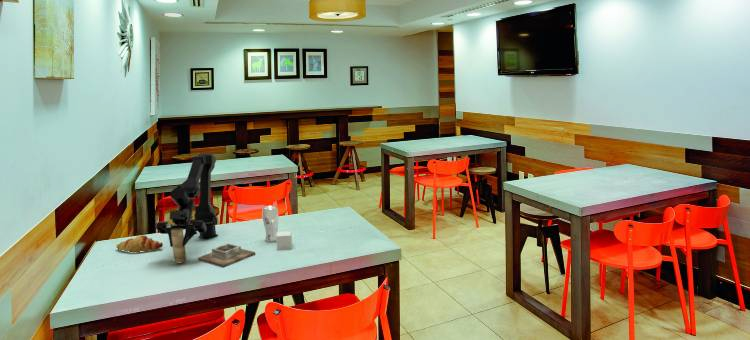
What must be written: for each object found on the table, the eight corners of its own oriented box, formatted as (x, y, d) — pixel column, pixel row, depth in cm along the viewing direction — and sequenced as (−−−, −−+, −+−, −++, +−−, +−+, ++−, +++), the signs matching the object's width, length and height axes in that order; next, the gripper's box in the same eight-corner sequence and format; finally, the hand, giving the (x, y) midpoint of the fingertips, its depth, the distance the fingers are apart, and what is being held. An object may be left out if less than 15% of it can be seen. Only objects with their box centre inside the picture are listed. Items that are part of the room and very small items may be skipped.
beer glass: (281, 237, 216) (279, 205, 213) (277, 242, 209) (275, 209, 206) (267, 237, 217) (264, 205, 214) (262, 242, 210) (259, 209, 207)
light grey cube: (292, 244, 206) (291, 231, 205) (291, 248, 200) (290, 235, 199) (278, 245, 205) (277, 232, 204) (277, 249, 200) (276, 236, 198)
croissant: (114, 260, 204) (106, 247, 199) (124, 242, 212) (117, 230, 207) (161, 258, 202) (154, 245, 197) (170, 241, 210) (163, 228, 205)
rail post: (182, 258, 190) (178, 227, 188) (188, 260, 188) (185, 229, 185) (172, 261, 187) (168, 230, 184) (178, 263, 184) (175, 232, 182)
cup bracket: (230, 247, 204) (229, 239, 203) (255, 254, 195) (254, 245, 194) (198, 259, 191) (197, 250, 190) (223, 267, 182) (222, 257, 181)
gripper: (154, 202, 187) (144, 238, 178) (201, 201, 187) (194, 236, 178) (165, 216, 196) (156, 250, 187) (209, 214, 196) (203, 248, 187)
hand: (177, 246), depth 185 cm, fingers closed on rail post, 4 cm apart
